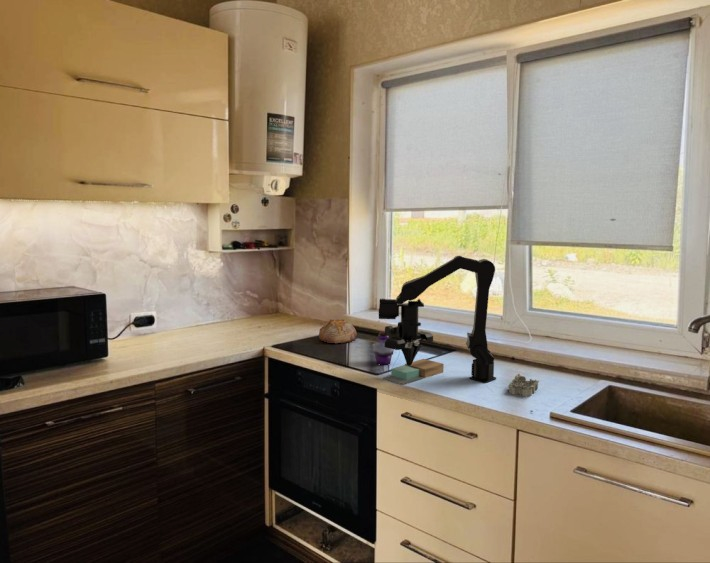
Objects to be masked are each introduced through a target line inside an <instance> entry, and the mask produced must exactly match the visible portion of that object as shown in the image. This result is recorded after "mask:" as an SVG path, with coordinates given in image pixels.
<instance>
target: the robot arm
mask: <svg viewBox="0 0 710 563" xmlns="http://www.w3.org/2000/svg"><path fill="white" fill-rule="evenodd" d="M461 269H462V270H464V271H468V272H472V273H474V275H475V276H474V277H475V281H476V282H475V284H476V291H475V293H476V294H475V305H474V316H473V324H472V325H473V326H472V330H471V332H467V333H466V336H467V337H466V342H465V345H466V348H467V349H468V351H469V353H470V355H471V356H472V357H473V359H472V363H471V371H470V372H471V376H469V379H470V380H474V381H478V382H481V383H485V384H486V383H488V382H491V381H495V380H496V379H497V377H495V375H494V373H495V362H494V361H495V357H494V356H493V354H492V352H491V351H490V350H489V347H488V340H487V332H486V327H487V316H488V307H489V306H488V305H489V296H490V288H491V286H492V282H493V279H494V276H495V272H496V267H495V265H494V263H493V262H492V261H490V260H489V259H486V258H481V259H479V260H478V259H473V258H468V257H464V256H461V255H456V256H455V255H454V257H453V258H451V259H450V260H449V261H446V262H445V263H444V264H442V265H440V266H439V267H436V268H435V269H433V270H432V271H430V272H428V273H426V274H425V275H422V276H420V277H419V276H418V277H416V278H413V279H411V280H408V281H406V282H404V283H403V284H402V286H401V290H400V293H399V294H398V295H397V296H396V298H395V299H393V298H390V299H389V298H380V299H379V303H378V304H379V307H378V319H379V320H396V319H397V318H398V317H400V321H399V322H398V323H397V326H395V327H393V326H392V325H388V326H387V325H386V326H384V331H385V335H386V336H389V338H388V339H386V340H385V347H386V348H390V349H394V351H400V350H401V352H402V354H403V357H404V360H405V364H407V365H408V366H410V365H411V364H412V362H414V361H415V358H416V357H417V355H418V353H419V351H420V349H421V347H423V344H422V343H420V341H423V340H425V341H426V343H432V342H434V335H433V333H431V332H428V331H425V330H424V331H423V330H420V331H419V327H421V326H422V323H421V322H419V308H424V307H425V303H424V302H422V300H421V299H420V298H418V297H420V296H421V295H422V294H423V293H425V291H426V290H427V289H428V288H429V287H430V286H432V285H435V283H438V282H439V281H441V280H442V279H444V278H447V277H448V276H450V275H451V274H453V273H455V272H457V271H458V270H461ZM417 298H418V299H417ZM416 299H417V300H416ZM405 302H407V303H405ZM400 311H401V312H400Z"/></svg>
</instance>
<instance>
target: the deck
mask: <svg viewBox="0 0 710 563" xmlns="http://www.w3.org/2000/svg"><path fill="white" fill-rule="evenodd" d="M404 366H408V365H407V363H405V364H404ZM408 367H411V368H415V369H419V376H420V377H423V379H426V377H427V378H429V377H433V376H436V375H438V374H442V373H444V363H443V362H441V363H440V362H438V361H435V360H430V359H426V358H422V359H421V358H420V359H417V360H413V362H412V364H411V365H410V366H408Z"/></svg>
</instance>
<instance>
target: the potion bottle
mask: <svg viewBox="0 0 710 563" xmlns="http://www.w3.org/2000/svg"><path fill="white" fill-rule="evenodd" d="M388 338H389V336H386V335H385V330H380V331H379V332H378V335H377V340H379V342H376V343H373V344H372V349H373V353H374V356H375V361H376V362H375V364H376V363H377V364H380V365H379V366H384V365H387V366H389V365H388V364H390V363H391V361H392V357H393V355H394V351H395V350H394V349H390V348H386V347H385V340H386V339H388ZM377 364H376V365H377ZM390 365H391V364H390Z"/></svg>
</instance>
